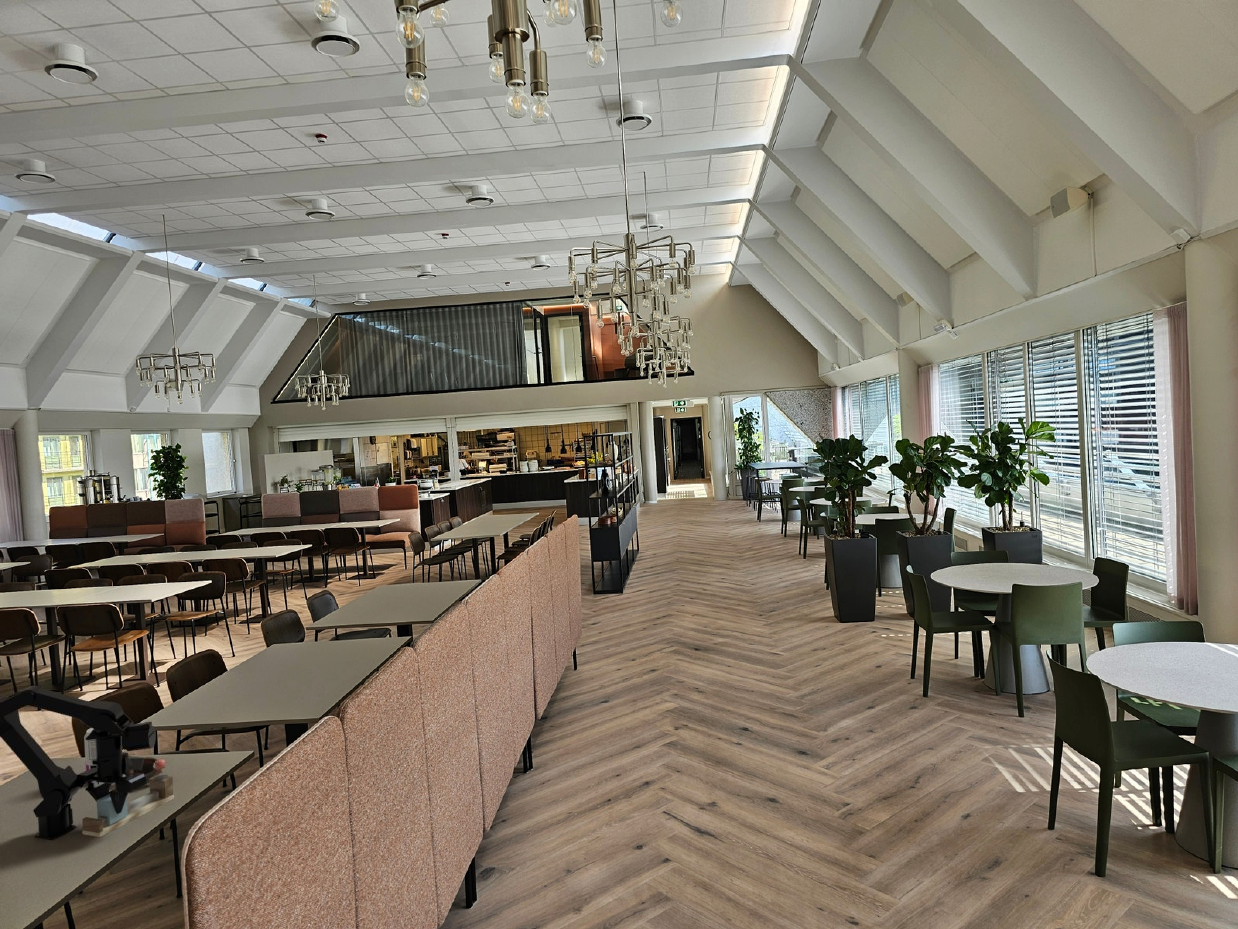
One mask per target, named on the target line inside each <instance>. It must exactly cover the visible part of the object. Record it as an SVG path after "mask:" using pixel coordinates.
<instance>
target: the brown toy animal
mask: <svg viewBox="0 0 1238 929" xmlns="http://www.w3.org/2000/svg"><path fill="white" fill-rule="evenodd" d="M157 760H158V759H157V758H156V757H153V756H146V757H144V762H143V766H142V770H130V772H129V773H127V774H123V776H124V775H125V776H127V775H130V774H132V773H142V774H145V775H147V784H149V779H150V778H152V777H154V776H156V775H161V774H162V773H163V769H160V770H156V769H155V761H157Z"/></svg>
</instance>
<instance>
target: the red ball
mask: <svg viewBox="0 0 1238 929" xmlns="http://www.w3.org/2000/svg"><path fill="white" fill-rule="evenodd" d="M154 768H155V769H156V770H160V769H161V770H163V769H165V768H166V760H165V758H162V759H161V758H160V759H157V761H155V763H154Z"/></svg>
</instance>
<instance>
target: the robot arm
mask: <svg viewBox="0 0 1238 929" xmlns="http://www.w3.org/2000/svg"><path fill="white" fill-rule="evenodd" d="M28 706H29V707H33V708H37V709H40V710H43V711H44V710H45V711H47V712H52V713H55V714H59V715H62V716H63V715H64V716H67V717H71V718H74V719H76V720H79V721H80V722H81V723H83V724H84V725H85V726H87V727H89V728H93V730H92V732H91V733H90V734H89V735H88V736H87V737H86V738H85V739H86V740H93V739H95V743H96V759H95V760H93V761H92V764H93V765H97V768H92V769H89V770H87V771H86V770H84V771H82V772H80V773H78V774H77V773H76V772H75V771H74V770H73V768H72V766H70V765H67V766H66V767H65V768H63V767H61V766H59V765H56V763H55V762H54V761H53V759H51V757H50V756H49V755H48V754H47V753H46V752H45V750H44V749H43V748H42V747H41V745H40V744H39V743H38V742H37V741H36V739H35V738H34V737H33V736H32V735H31V733H29V731H28V730H27V729H26V728H25V727H24V725H23V724H22V723H21V717H20V712H19V710H21V709H23V708H24V707H28ZM117 723H118V724H117ZM156 733H157V732H156V730H155V727H154V725H153V723H152V721H146V722H141V723H134V721H133V720H132V719H131V718H130V717H129V716H128V715H127V714H126V713H125V711H124V710H123V707H122V705H121V704H120V703H119V702H118V703H117V702H114V701H106V700H105V701H104V700H95V701H93V700H85V699H81V698H78V697H74V696H71V695H67V694H65V693H64V694H63V693H60V692H56V691H52V690H49V689H45V688H42V687H41V686H38V685H31V686H29V687H27V688H26V689H24V690H21V691H17V692H15V693H13V694H10V695H9V696H8V695H7V696H0V738H1V739H2V741H3V742H4V743H5V744H6V745H7V746H8V747H9V749H10V750H11V751H12V752H13V753H14V755H15V756H17V758H18V759H19V760H20V762H21V763H22V765H24V767H26V769H27V770H28V771H29V772H30V773H31V774H32V776H33V777H34V778H35V779H36V781H37V785H38V786H37V787H38V792H39V794H40V796H41V798H42V800H41V802H40V803H39V804H38V805H36V807H35V808H34V809H33V810H32V812H33V813H34V815H35V818H37V820H38V822H37V824H38V832H37V833H35V834H34V838H41V839H46V840H54V839H57V838H58V837H60V836H62V835H65V834H66V833H69V832H71V831H72V830H75V829H76V828H77V825H74V816H73V808H72V806H71V803H70V802H72V800H73V797H74V796H75V795H76V794H77V793H78V792H79V791H80V788H83V787H85V786H86V784H87V787H85V788H84V789H85V790H84V791H86V792H88V793H89V795H90V796H91V797H92V798H93V799H94V801H95V802H96V803H97V800H98V799H100V798H102V797H105V796H107V795H110V798H111V800H112V803H113V806H114V809H115V811H116V813H117V814H119V813H121V812H122V809H123V806H124V803H125V800H126V797H128V794H129V793H131V792H133V791H135V790H137V789H139V788H141V787H143V786H146V785H147V784H148V783H147V775H145V774H142V773H132V774H130V775H127V776H126V775H125V776H124V774H127V773H129V772H130V770H142V766H143V762H144V758H145V757H143V756H132V755H129V753H128V752H132V751H142V750H149V749H153V748H154V746H155V745H156V739H157V738H156V737H157V734H156ZM123 751H124V752H123ZM125 751H126V752H125ZM112 785H115V788H114V789H112V790H110V788H111V786H112Z"/></svg>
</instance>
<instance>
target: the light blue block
mask: <svg viewBox="0 0 1238 929" xmlns="http://www.w3.org/2000/svg"><path fill="white" fill-rule="evenodd" d="M127 797H128V796H127ZM127 797H126V800H125V803H124V806H123V809H122V812H121V813H119V814H117V813H116V811H115V809H114V806H113V803H112V800H111V798H110V795H107V796H105V797H102V798H100V799H98V800H97V802H96V810H97V812H96V813H97V814H96V815H97V819H98V818H100V817H102V816H105V817H107V819H108V825H111V824H113V823H115V822H117V821H119V820H121V819H122V818H124V817H126V816H128V811H127V804H128V798H127Z"/></svg>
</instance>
